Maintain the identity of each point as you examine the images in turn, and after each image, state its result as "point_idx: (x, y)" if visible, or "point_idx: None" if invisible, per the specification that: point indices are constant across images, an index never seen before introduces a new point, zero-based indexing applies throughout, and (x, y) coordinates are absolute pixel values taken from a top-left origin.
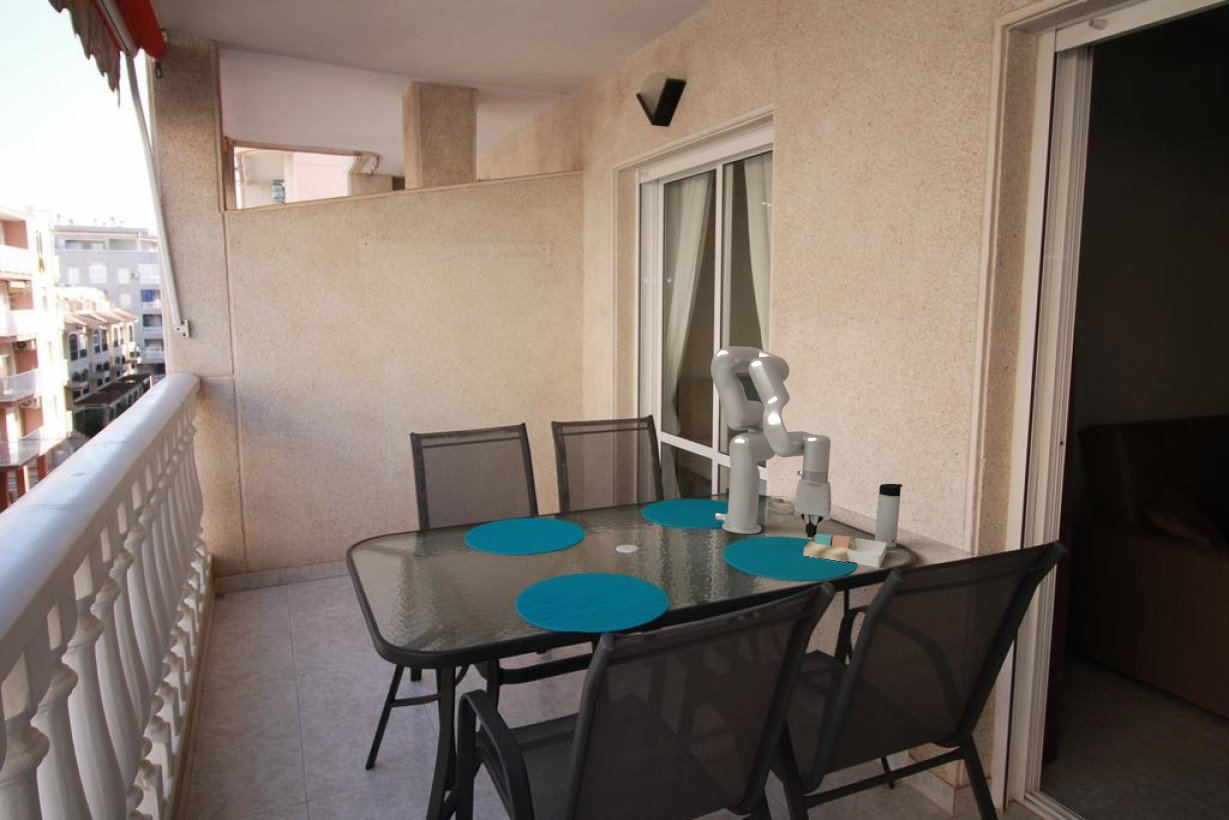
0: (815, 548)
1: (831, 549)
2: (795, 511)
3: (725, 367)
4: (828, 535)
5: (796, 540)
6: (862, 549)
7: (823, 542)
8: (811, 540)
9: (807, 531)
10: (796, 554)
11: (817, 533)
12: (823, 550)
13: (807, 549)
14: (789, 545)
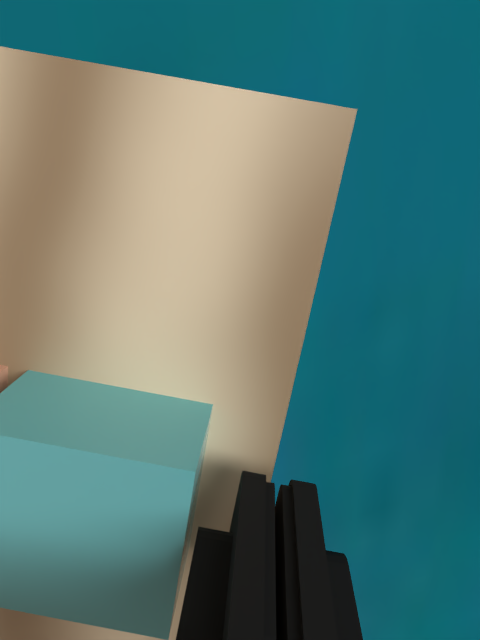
0: (189, 141)
1: None
2: None
3: None
4: (12, 519)
5: (382, 635)
6: None
7: (99, 397)
8: None
9: (324, 544)
10: (419, 162)
11: (171, 563)
12: (70, 77)
13: (303, 105)
14: (464, 476)
